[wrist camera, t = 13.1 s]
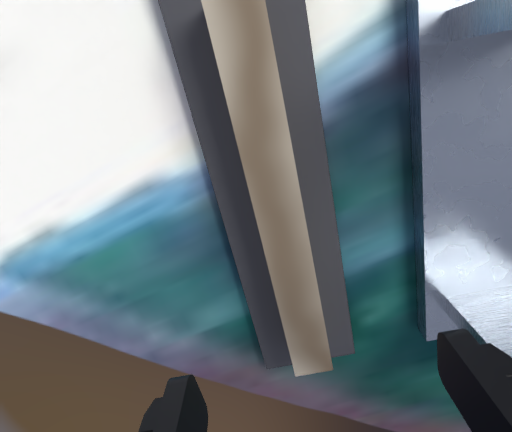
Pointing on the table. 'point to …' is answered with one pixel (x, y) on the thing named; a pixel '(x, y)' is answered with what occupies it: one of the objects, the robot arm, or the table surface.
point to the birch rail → (270, 171)
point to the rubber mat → (233, 177)
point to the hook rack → (462, 166)
